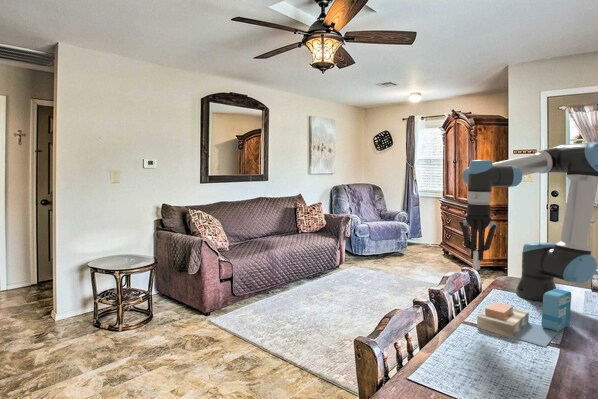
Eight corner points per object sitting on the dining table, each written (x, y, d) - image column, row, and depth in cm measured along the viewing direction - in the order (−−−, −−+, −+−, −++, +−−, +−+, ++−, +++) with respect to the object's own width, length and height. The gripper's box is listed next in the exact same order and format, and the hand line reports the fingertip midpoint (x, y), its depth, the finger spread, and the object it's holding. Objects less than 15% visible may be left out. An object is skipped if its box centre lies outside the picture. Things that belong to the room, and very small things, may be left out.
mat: (528, 323, 131) (528, 322, 131) (558, 330, 125) (559, 330, 125) (512, 337, 119) (512, 336, 119) (545, 347, 113) (545, 346, 113)
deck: (494, 314, 139) (495, 303, 139) (528, 323, 131) (528, 311, 131) (477, 327, 127) (477, 316, 127) (512, 337, 119) (513, 325, 119)
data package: (556, 332, 122) (558, 296, 122) (540, 328, 126) (543, 293, 125) (569, 325, 129) (571, 290, 129) (554, 320, 133) (556, 287, 132)
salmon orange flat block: (494, 307, 135) (494, 301, 135) (512, 311, 131) (512, 306, 131) (485, 313, 129) (485, 308, 129) (503, 318, 125) (504, 312, 124)
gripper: (456, 203, 135) (454, 267, 137) (494, 205, 126) (491, 274, 127) (464, 201, 140) (462, 263, 142) (502, 204, 131) (499, 270, 132)
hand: (476, 268), depth 135 cm, fingers closed
